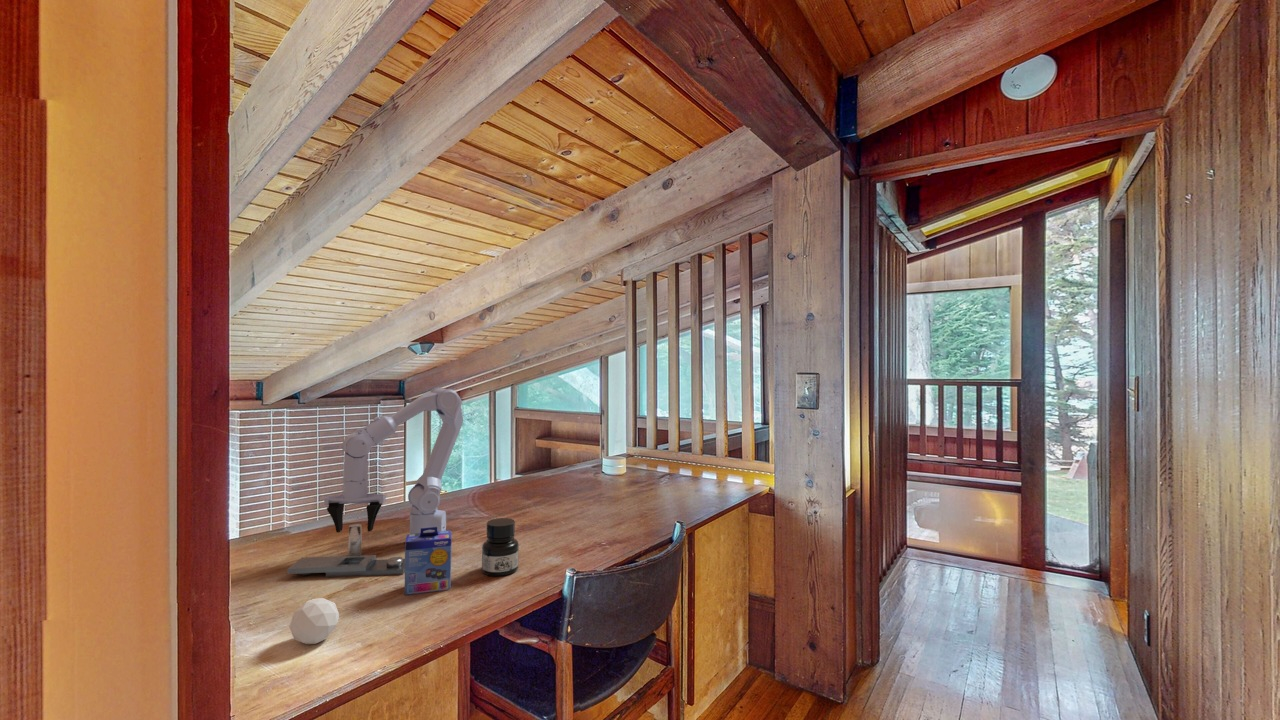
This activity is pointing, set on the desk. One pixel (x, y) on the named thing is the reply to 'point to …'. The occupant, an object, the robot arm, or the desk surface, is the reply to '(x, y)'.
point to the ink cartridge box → (428, 561)
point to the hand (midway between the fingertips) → (354, 530)
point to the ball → (314, 621)
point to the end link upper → (331, 564)
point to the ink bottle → (500, 548)
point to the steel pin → (355, 539)
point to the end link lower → (375, 568)
